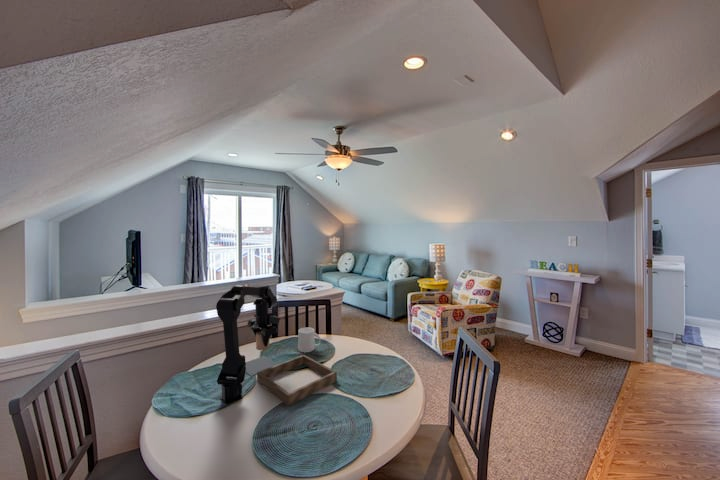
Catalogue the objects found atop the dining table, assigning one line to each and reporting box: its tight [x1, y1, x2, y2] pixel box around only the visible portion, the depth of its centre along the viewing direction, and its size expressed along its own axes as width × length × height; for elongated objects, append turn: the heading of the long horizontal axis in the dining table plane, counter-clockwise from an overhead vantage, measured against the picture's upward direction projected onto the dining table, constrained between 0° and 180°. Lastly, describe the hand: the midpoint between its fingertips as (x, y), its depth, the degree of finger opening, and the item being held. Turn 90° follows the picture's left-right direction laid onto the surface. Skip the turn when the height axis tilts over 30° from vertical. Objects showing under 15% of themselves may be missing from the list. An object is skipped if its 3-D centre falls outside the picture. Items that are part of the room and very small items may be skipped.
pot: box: [255, 331, 270, 351], centre depth 141 cm, size 6×6×7 cm
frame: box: [256, 354, 338, 407], centre depth 130 cm, size 24×24×4 cm
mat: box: [245, 355, 279, 377], centre depth 144 cm, size 14×14×1 cm
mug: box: [297, 326, 321, 354], centre depth 161 cm, size 9×12×11 cm
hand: (262, 344), depth 141 cm, fingers closed on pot, 6 cm apart
